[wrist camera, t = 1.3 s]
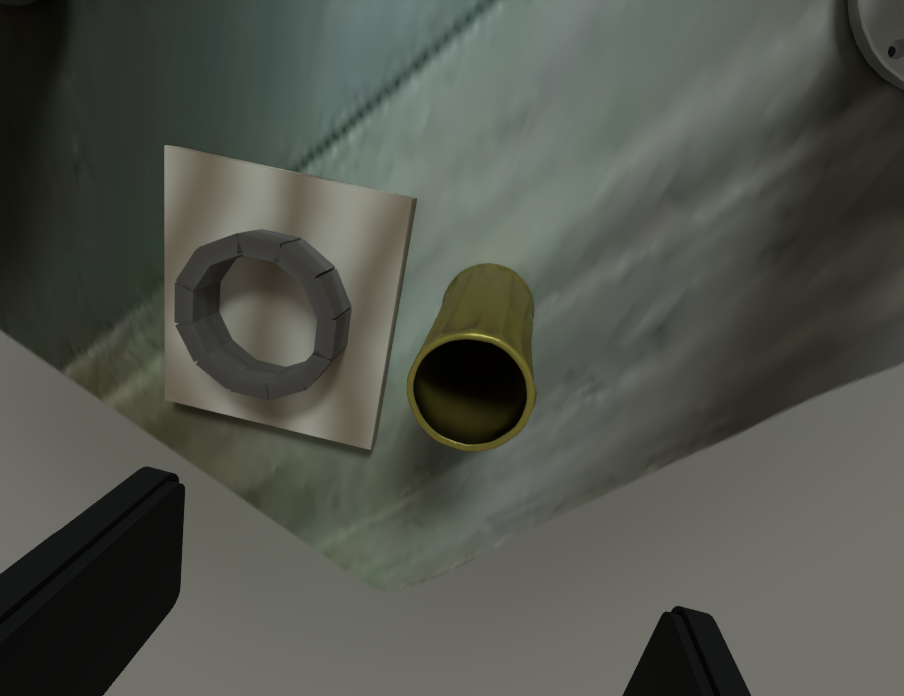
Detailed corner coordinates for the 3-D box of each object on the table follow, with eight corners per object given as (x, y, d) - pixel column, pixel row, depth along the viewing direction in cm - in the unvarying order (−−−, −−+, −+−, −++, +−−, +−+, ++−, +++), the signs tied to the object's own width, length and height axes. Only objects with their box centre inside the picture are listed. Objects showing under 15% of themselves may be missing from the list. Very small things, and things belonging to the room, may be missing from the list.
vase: (479, 367, 34) (457, 486, 21) (424, 299, 33) (364, 378, 20) (551, 317, 32) (578, 411, 19) (496, 243, 31) (483, 288, 18)
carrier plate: (416, 198, 31) (401, 200, 27) (376, 440, 37) (358, 473, 33) (179, 146, 32) (128, 141, 28) (177, 391, 38) (135, 417, 34)
